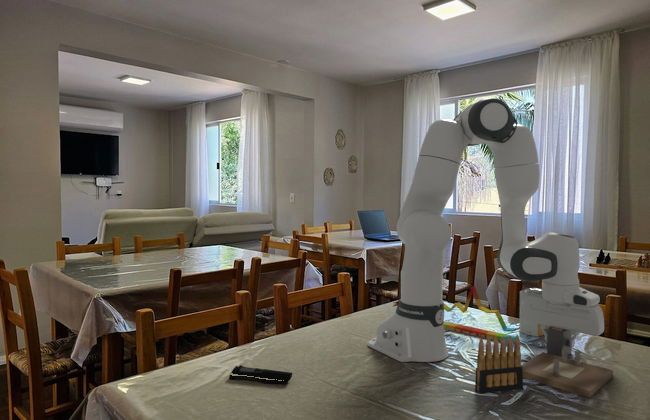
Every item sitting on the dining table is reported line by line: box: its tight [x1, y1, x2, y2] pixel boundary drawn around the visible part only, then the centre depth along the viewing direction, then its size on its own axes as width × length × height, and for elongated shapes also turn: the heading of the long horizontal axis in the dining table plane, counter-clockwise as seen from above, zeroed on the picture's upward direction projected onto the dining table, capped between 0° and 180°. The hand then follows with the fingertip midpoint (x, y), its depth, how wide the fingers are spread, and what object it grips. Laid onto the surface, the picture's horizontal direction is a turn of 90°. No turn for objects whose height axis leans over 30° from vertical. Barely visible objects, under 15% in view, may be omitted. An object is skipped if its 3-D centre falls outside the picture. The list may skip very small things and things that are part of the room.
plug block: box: [546, 327, 573, 357], centre depth 119 cm, size 4×6×7 cm, turn 132°
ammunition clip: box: [474, 334, 524, 395], centre depth 98 cm, size 11×2×12 cm, turn 101°
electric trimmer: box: [228, 364, 293, 384], centre depth 104 cm, size 4×16×3 cm, turn 73°
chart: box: [443, 285, 517, 345], centre depth 138 cm, size 30×3×15 cm, turn 47°
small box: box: [518, 287, 551, 338], centre depth 137 cm, size 8×6×13 cm
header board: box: [521, 348, 614, 399], centre depth 105 cm, size 16×16×5 cm
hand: (559, 344), depth 119 cm, fingers closed on plug block, 4 cm apart
